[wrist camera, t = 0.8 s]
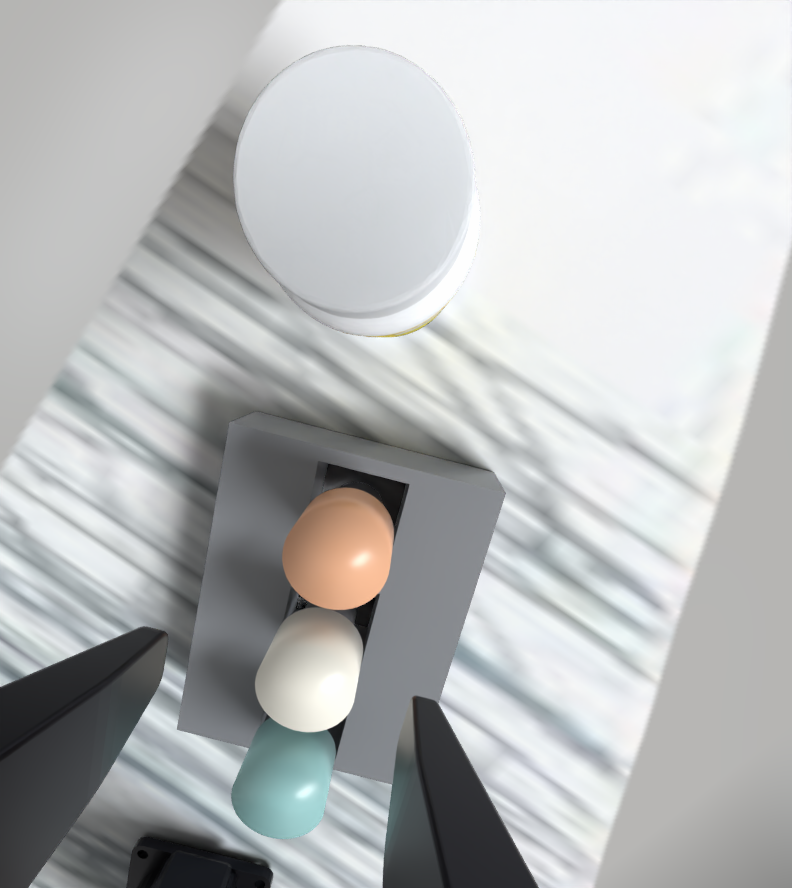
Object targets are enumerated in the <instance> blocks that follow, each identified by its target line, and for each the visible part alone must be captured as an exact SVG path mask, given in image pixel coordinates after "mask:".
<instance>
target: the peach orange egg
mask: <svg viewBox="0 0 792 888" xmlns="http://www.w3.org/2000/svg"><path fill="white" fill-rule="evenodd" d="M393 542H394V527H393V522H392V519H391V517H390V515H389V513H388V511H387V509H386V508H385V507H384V505H383V502H382V499H381V497H380V495H379V493H378V492H377V491H376V490H375V489H374V488H373V487H372V486H370V485H368V484H366V483H363V482H349V483H346V484H344V485H342V486H341V487H340V488H336V489H331V490H328V491H326V492H324V493H322V494H320V495H319V496H317V497H316V498H315V499H313V500H312V501H311V503H310V504H309V505H308V506H307V508H306V509H305V511H304V512H303V513H302V515H301V516H300V518H299V519H298V521H297V522H296V524H295V525H294V526H293V528H292V529H291V531H290V532H289V534H288V536H287V538H286V540H285V543H284V546H283V552H282V562H283V568H284V571H285V574H286V577H287V579H288V581H289V582H290V584H291V586H292V587H293V588H294V589H295V591H296V592H297V593H298V594H299V595H300V596H302V597H303V598H304V599H306V600H307V601H309V602H310V603H312V604H314V605H317V606H319V607H322V608H326V609H332V610H346V609H352V608H355V607H359V606H361V605H363V604H365V603H367V602H368V601H370V600H371V599H373V598H374V597H375V596H376V595H377V594H378V593H379V592H380V591H381V589H382V588H383V586H384V584H385V583H386V581H387V578H388V575H389V570H390V563H391V556H392V549H393Z"/></svg>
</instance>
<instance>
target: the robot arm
mask: <svg viewBox="0 0 792 888" xmlns="http://www.w3.org/2000/svg"><path fill="white" fill-rule="evenodd" d="M167 645H168V634H167V633H166V632H165V631H162V630H158V629H155V628H151V627H145V626H143V627H140V628H137V629H135V630H132V631H130V632H128V633H125V634H123V635H121V636H118V637H116V638H114V639H111V640H109V641H107V642H104V643H102V644H100V645H97V646H95V647H93V648H90V649H88V650H86V651H83V652H81V653H79V654H76V655H74V656H72V657H69V658H67V659H65V660H62V661H60V662H58V663H55V664H53V665H51V666H48V667H46V668H44V669H41V670H39V671H37V672H34V673H32V674H30V675H27V676H25V677H23V678H21V679H18V680H16V681H14V682H11V683H9V684H7V685H4V686H2V687H0V888H28V887H29V886H30V884H31V883H32V881H33V880H34V879H35V877H36V876H37V874H38V873H39V872H40V870H41V869H42V867H43V866H44V865H45V863H46V862H47V860H48V859H49V858H50V856H51V855H52V853H53V852H54V851H55V849H56V848H57V846H58V845H59V844H60V842H61V841H62V839H63V838H64V837H65V835H66V834H67V832H68V831H69V830H70V828H71V827H72V825H73V824H74V823H75V821H76V820H77V818H78V817H79V816H80V814H81V813H82V811H83V810H84V809H85V807H86V806H87V804H88V803H89V801H90V800H91V798H92V797H93V796H94V794H95V793H96V791H97V790H98V788H99V787H100V785H101V783H102V782H103V780H104V778H105V777H106V775H107V774H108V772H109V770H110V769H111V767H112V765H113V763H114V762H115V760H116V758H117V757H118V755H119V753H120V751H121V750H122V748H123V746H124V745H125V743H126V741H127V740H128V738H129V736H130V734H131V733H132V731H133V729H134V728H135V726H136V724H137V723H138V721H139V719H140V717H141V716H142V714H143V712H144V711H145V709H146V707H147V706H148V704H149V702H150V700H151V699H152V697H153V695H154V694H155V692H156V690H157V688H158V686H159V684H160V681H161V679H162V675H163V670H164V664H165V657H166V651H167ZM272 880H273V872H272V871H271V870H270V869H269V868H267V867H265V866H261V865H257V864H254V863H250V862H246V861H242V860H238V859H234V858H230V857H226V856H222V855H218V854H214V853H210V852H206V851H202V850H198V849H195V848H191V847H187V846H183V845H179V844H175V843H171V842H167V841H163V840H159V839H155V838H151V837H141V838H140V839H139V840H138V842H137V843H136V845H135V847H134V849H133V851H132V855H131V862H130V868H129V875H128V881H127V888H271V884H272ZM383 888H539V887H538V885H537V883H536V882H535V880H534V878H533V876H532V874H531V872H530V871H529V869H528V867H527V865H526V863H525V861H524V860H523V858H522V856H521V854H520V852H519V850H518V849H517V847H516V845H515V843H514V841H513V839H512V838H511V836H510V834H509V832H508V830H507V828H506V827H505V825H504V823H503V821H502V819H501V817H500V816H499V814H498V812H497V810H496V808H495V806H494V805H493V803H492V801H491V799H490V797H489V795H488V794H487V792H486V790H485V788H484V786H483V784H482V783H481V781H480V779H479V777H478V775H477V773H476V772H475V770H474V768H473V766H472V764H471V762H470V761H469V759H468V757H467V755H466V753H465V751H464V750H463V748H462V746H461V744H460V742H459V740H458V739H457V737H456V735H455V733H454V731H453V729H452V728H451V726H450V724H449V722H448V720H447V718H446V717H445V715H444V713H443V711H442V709H441V707H440V706H439V704H438V703H437V702H436V701H435V700H433V699H429V698H425V697H421V696H417V695H415V696H413V697H412V698H411V700H410V702H409V706H408V709H407V712H406V716H405V719H404V722H403V725H402V729H401V732H400V735H399V740H398V744H397V751H396V759H395V767H394V775H393V784H392V792H391V800H390V809H389V817H388V825H387V833H386V842H385V853H384V867H383Z"/></svg>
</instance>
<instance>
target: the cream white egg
mask: <svg viewBox="0 0 792 888" xmlns="http://www.w3.org/2000/svg"><path fill="white" fill-rule="evenodd" d="M356 613H357V607H355V608H352V609H346V610H332V609H326V608H322V607H319V606H317V605H314V604H312V603H310V602H309V601H308V602H307V605H306V607H305V609H302V610H299V611H297V612H295V613H293V614H291V615H290V616H289V617H287V618H286V619H285V620H284V621H283V622H282V624H281V625H280V627H279V629H278V631H277V633H276V635H275V637H274V639H273V641H272V643H271V645H270V647H269V649H268V651H267V653H266V655H265V657H264V659H263V661H262V663H261V665H260V667H259V669H258V671H257V675H256V679H255V690H256V695H257V698H258V701H259V703H260V705H261V706H262V708H263V710H264V711H265V712H266V713H267V714H268V715H269V716H270V717H271V718H272V719H273V720H274V721H276V722H277V723H279V724H281V725H282V726H284V727H287V728H289V729H292V730H295V731H300V732H318V731H323V730H327V729H329V728H332V727H334V726H335V725H337V724H338V723H340V722H341V721H342V720H343V719H344V718H345V717H346V716H347V715H348V714H349V712H350V710H351V708H352V706H353V703H354V699H355V694H356V689H357V683H358V678H359V672H360V667H361V662H362V656H363V643H362V639H361V636H360V634H359V632H358V630H357V628H356V627H355V626H354V622H355V617H356Z"/></svg>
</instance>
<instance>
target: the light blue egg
mask: <svg viewBox="0 0 792 888" xmlns="http://www.w3.org/2000/svg"><path fill="white" fill-rule="evenodd" d="M335 756H336V748H335V743H334V740H333V738H332V736H331V734H330V733H329V732H328V730H323V731H318V732H300V731H295V730H292V729H289V728H287V727H284V726H282V725H281V724H279V723H277V722H276V721H274V720H273V719H272V718H269V719H268V720H266V721H265V722H263V723H262V724H261V725H260V726H259V728H258V729H257V731H256V733H255V735H254V738H253V740H252V742H251V745H250V747H249V749H248V752H247V754H246V756H245V759H244V761H243V764H242V766H241V768H240V771H239V773H238V775H237V778H236V780H235V782H234V785H233V788H232V794H231V798H232V804H233V807H234V810H235V812H236V814H237V815H238V817H239V818H240V819H241V821H242V822H243V823H244V824H245V825H247V826H248V827H249V828H250V829H252V830H253V831H255V832H257V833H259V834H261V835H264V836H267V837H271V838H277V839H290V838H296V837H300V836H302V835H305V834H307V833H309V832H310V831H311V830H313V829H314V828H315V827H316V826H317V825H318V824H319V822H320V821H321V819H322V817H323V814H324V810H325V805H326V800H327V795H328V790H329V785H330V781H331V776H332V771H333V766H334V761H335Z"/></svg>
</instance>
